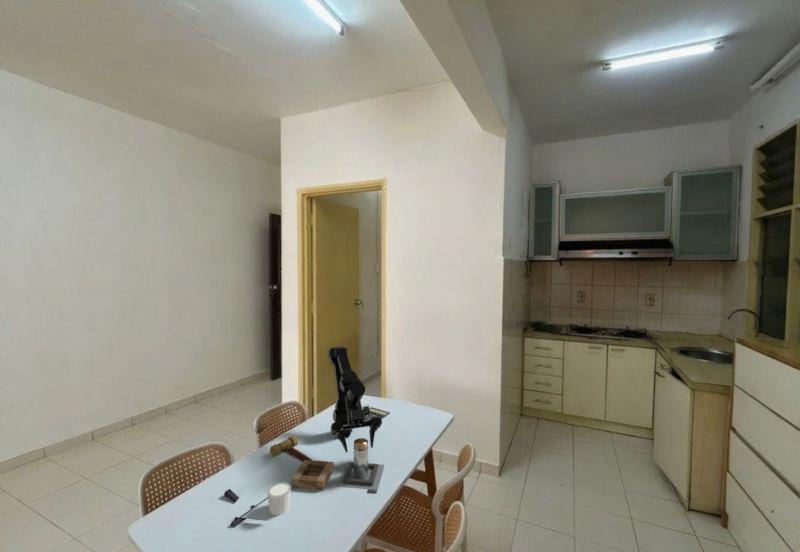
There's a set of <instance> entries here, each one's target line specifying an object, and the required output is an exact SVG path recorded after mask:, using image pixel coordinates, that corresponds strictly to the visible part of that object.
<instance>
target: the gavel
mask: <svg viewBox="0 0 800 552" xmlns="http://www.w3.org/2000/svg"><path fill="white" fill-rule="evenodd" d="M298 445H299V442H298V438H297V437H296V436H295V435H292V436H289V437H288V438H287V439H285V440H282V441H281V442H279V443H275V444H273V445H270V448H269V451H270V455H271V457H277V456H279V455H281V454H282V453H283V452H287V453H288V454H289V455H291V456H292V457H294V458H296V459H298V460H299V461H301V462H303V461H304V460H313V459H312V458H310V457H309V456H308V455H306V454H304V453H303V452H301V451H299V450H298V449H296V448H295V446H296V447H297V446H298Z"/></svg>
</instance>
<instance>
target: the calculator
mask: <svg viewBox="0 0 800 552" xmlns="http://www.w3.org/2000/svg"><path fill="white" fill-rule="evenodd" d="M369 410H370V415H366V416H365V420H363V421H364V422H365V421H370V418H371V417H378V416H380V417H381V419H382V420H383V419H384V418H385V417H388V415H390V414H391V412H389V411H386V410H381V409H379V408H375V407H369Z"/></svg>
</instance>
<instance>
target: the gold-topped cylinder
mask: <svg viewBox="0 0 800 552" xmlns="http://www.w3.org/2000/svg"><path fill="white" fill-rule="evenodd" d="M353 462H354V477H355V478H356V479H365V478H366V477H367V476H368V463H369V440H368V439H367V438H365V437H361V438H357V439H355V440H353Z"/></svg>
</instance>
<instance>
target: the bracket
mask: <svg viewBox="0 0 800 552" xmlns="http://www.w3.org/2000/svg"><path fill="white" fill-rule="evenodd" d="M224 497H226V499H229V500H231V502H234V503H237V501H238V500H239V499H240V496H238V495H237V494H236V493H235V492H234V491H233V490H232V489H230V488H229V489H227V490H226V491H224ZM266 500H268V496H267V497H266V498H264V499H263V500H262V501H260V502H259V503H257V504H256V505H254V504H252V505H251V506H249V508H250V509H249V510H247V511H246V512H245V513H243V514H241V515H240V516H235V517H234V518H233V520H232V521H231V523H230V526H233V528H235V527H237V526H238V525H240V524H241V523H242V522H244V521H246V520H247V518H246V517H244V516H246V515H247V514H248V513H250V512H251V511H252V510H253V509H255V508H257V507H258V506H260V505H261V504H262V503H263V502H265V501H266Z"/></svg>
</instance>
